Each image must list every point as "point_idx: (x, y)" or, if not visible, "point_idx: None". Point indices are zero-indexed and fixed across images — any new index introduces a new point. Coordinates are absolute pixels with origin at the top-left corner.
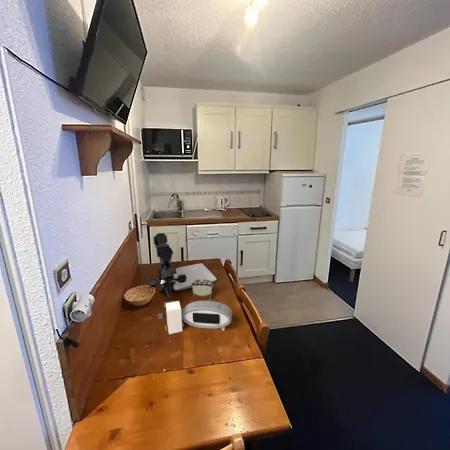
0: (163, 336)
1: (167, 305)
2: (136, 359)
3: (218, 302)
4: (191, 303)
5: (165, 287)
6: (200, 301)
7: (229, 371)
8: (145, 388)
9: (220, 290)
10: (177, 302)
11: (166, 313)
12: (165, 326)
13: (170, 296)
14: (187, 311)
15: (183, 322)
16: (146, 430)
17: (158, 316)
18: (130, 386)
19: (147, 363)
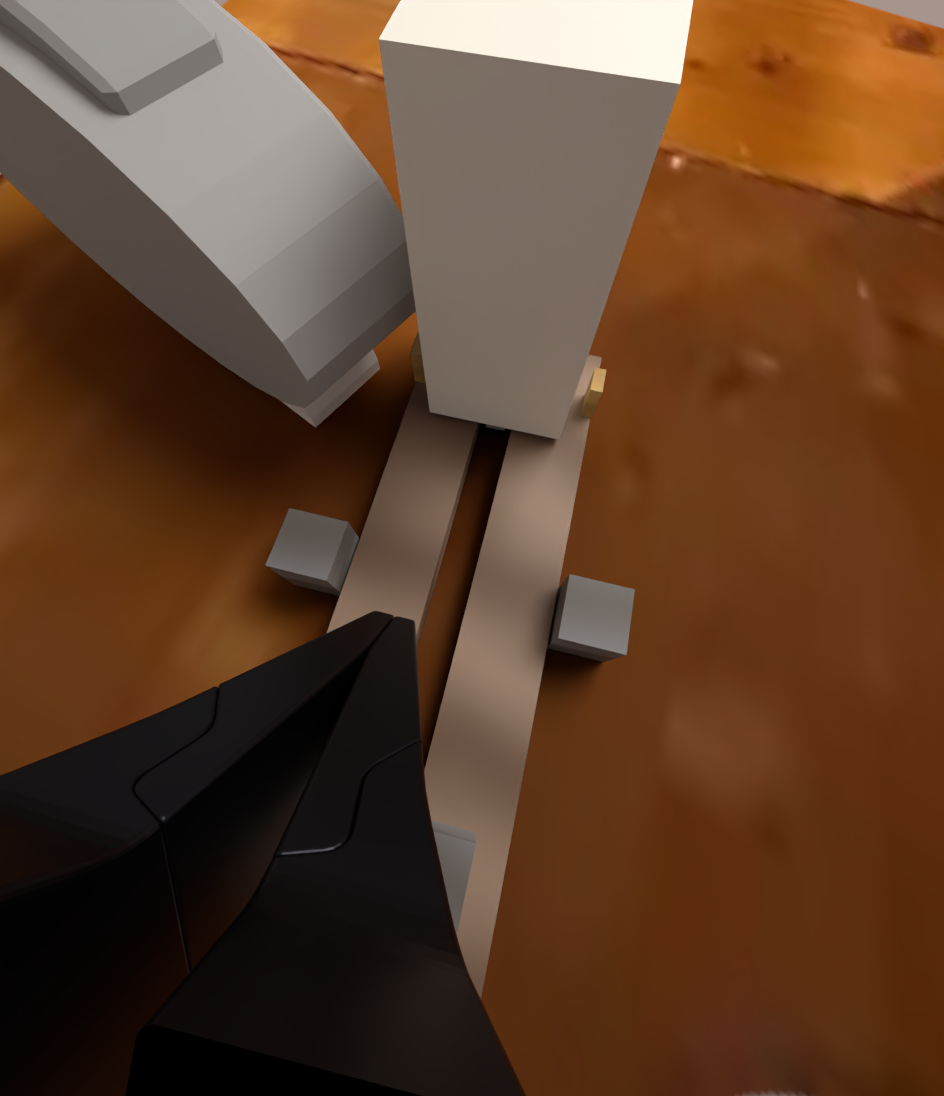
0: (616, 389)
1: (658, 25)
2: (843, 290)
3: None
4: (182, 191)
5: (407, 895)
6: (48, 7)
7: (376, 37)
8: (790, 124)
9: None
10: (431, 16)
11: (602, 310)
12: (598, 383)
13: (379, 612)
14: (344, 134)
15: (412, 347)
16: (794, 11)
17: (627, 595)
18: (869, 159)
19: (770, 234)
